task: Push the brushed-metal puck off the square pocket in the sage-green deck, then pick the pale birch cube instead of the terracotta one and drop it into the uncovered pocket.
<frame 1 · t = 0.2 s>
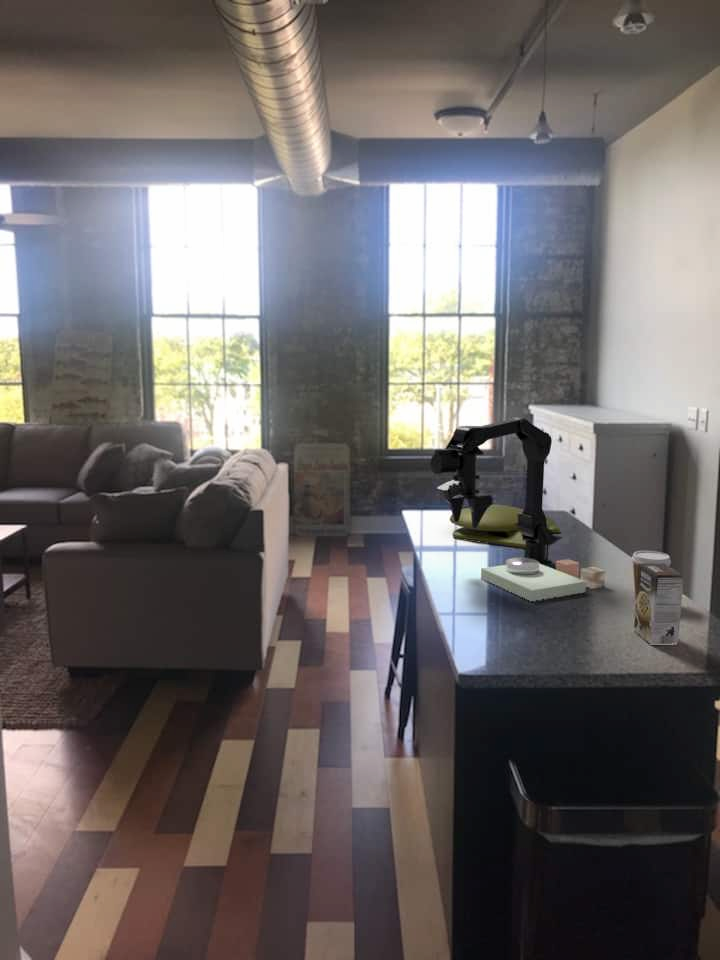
hand: (465, 525, 217), 14 cm above the countertop, tool pointing down, fingers open, 9 cm apart
spaceship: (498, 535, 266), on the countertop
birch cube: (592, 585, 207), on the countertop
pocket deck: (531, 585, 207), on the countertop
terracotta cube: (566, 577, 215), on the countertop
metal puck: (522, 570, 210), point 3 cm above the countertop, touching pocket deck
disposable coffee cup: (648, 601, 195), on the countertop
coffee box: (655, 639, 169), on the countertop
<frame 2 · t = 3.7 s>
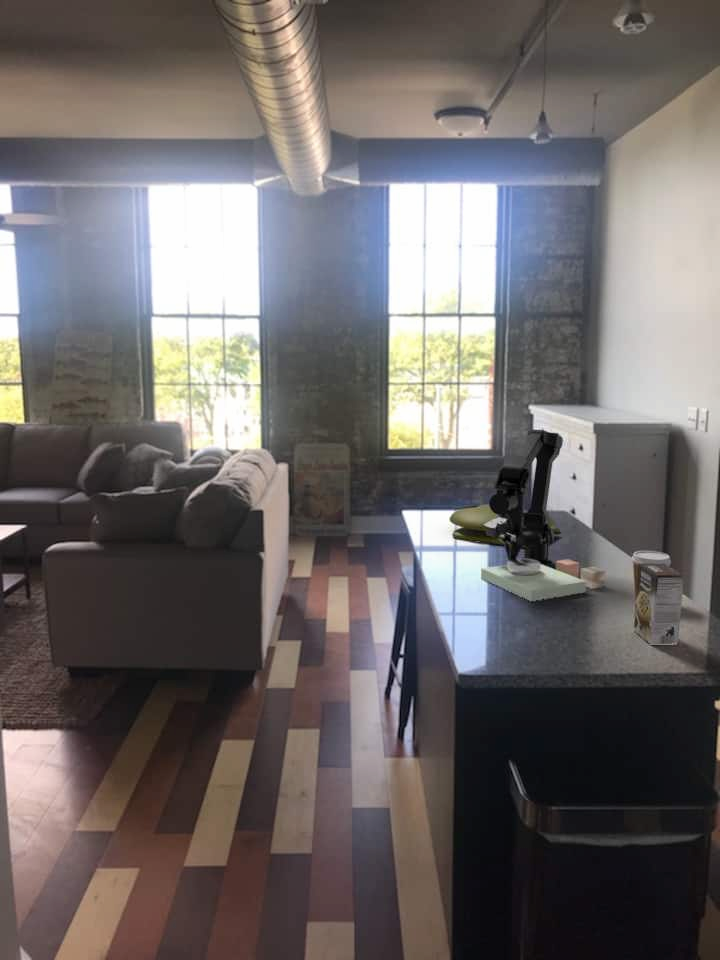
hand: (511, 562, 214), 4 cm above the countertop, tool pointing down, fingers closed
metal puck: (523, 571, 210), point 3 cm above the countertop, touching gripper
everything else where it was.
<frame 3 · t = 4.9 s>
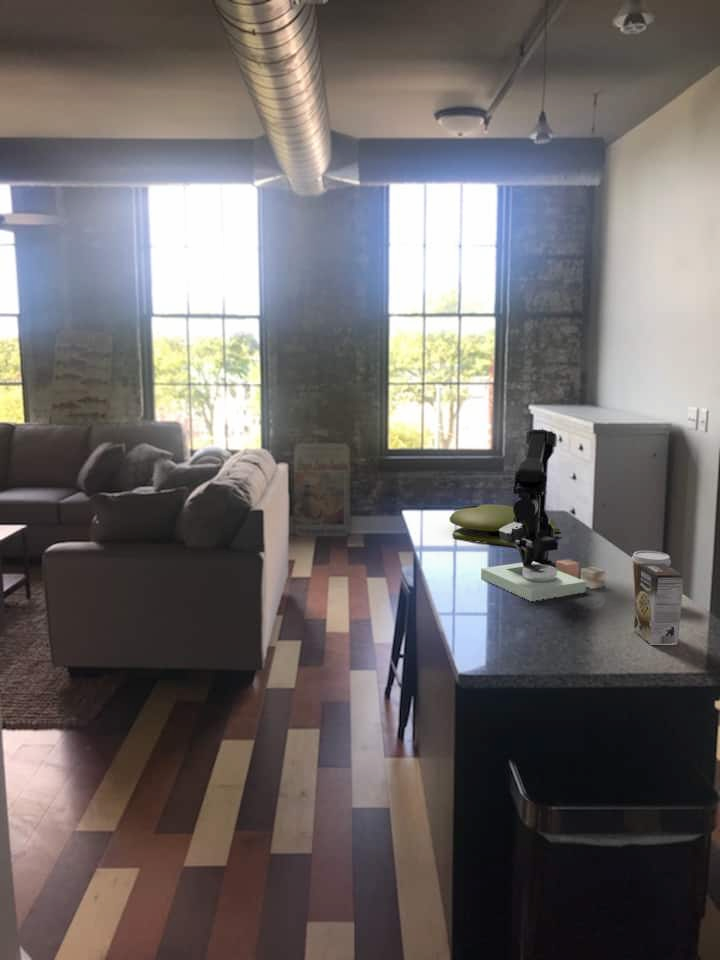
hand: (526, 568, 208), 4 cm above the countertop, tool pointing down, fingers closed
metal puck: (539, 577, 204), point 3 cm above the countertop, touching gripper
everything else where it was.
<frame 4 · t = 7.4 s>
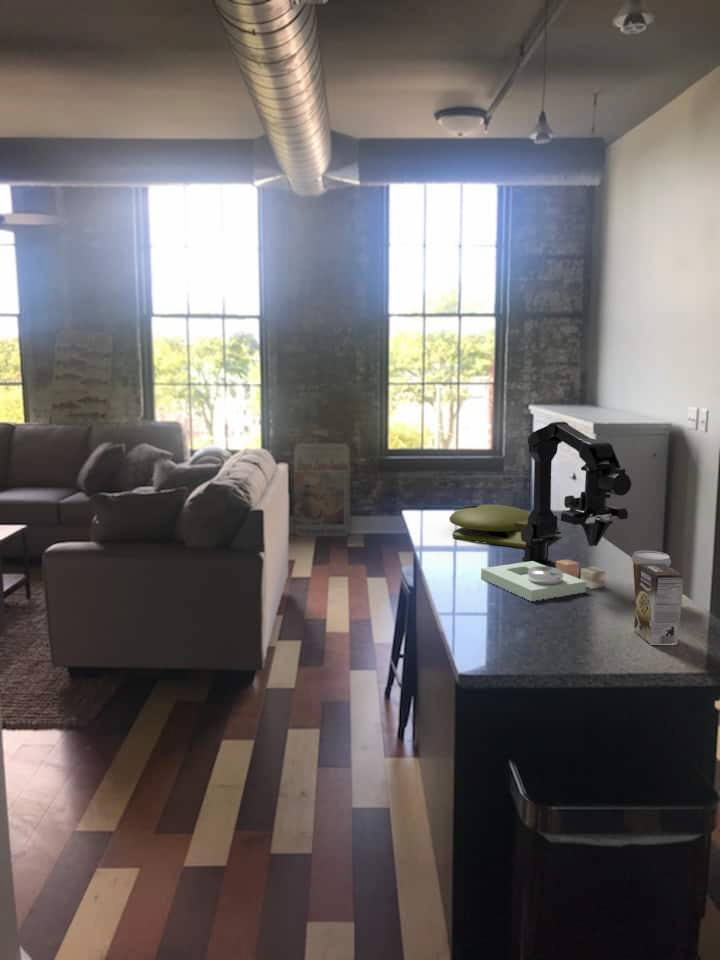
hand: (592, 545, 205), 11 cm above the countertop, tool pointing down, fingers closed
metal puck: (545, 580, 201), point 3 cm above the countertop, touching pocket deck
everything else where it was.
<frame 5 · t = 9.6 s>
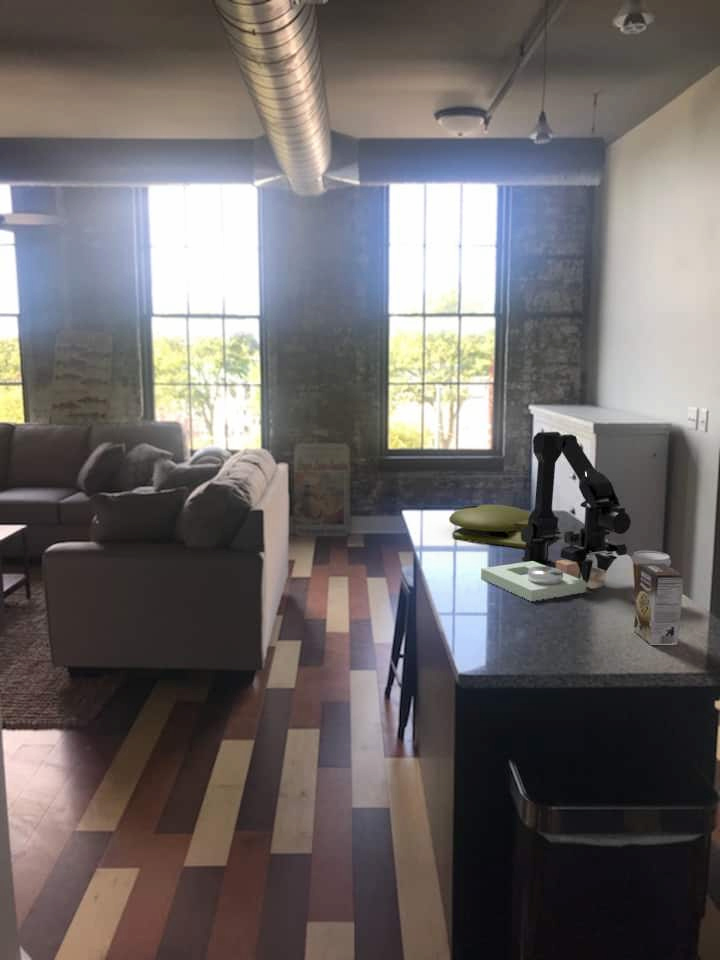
hand: (592, 581, 207), 1 cm above the countertop, tool pointing down, fingers closed on birch cube, 4 cm apart
birch cube: (592, 585, 207), on the countertop, touching gripper
everything else where it was.
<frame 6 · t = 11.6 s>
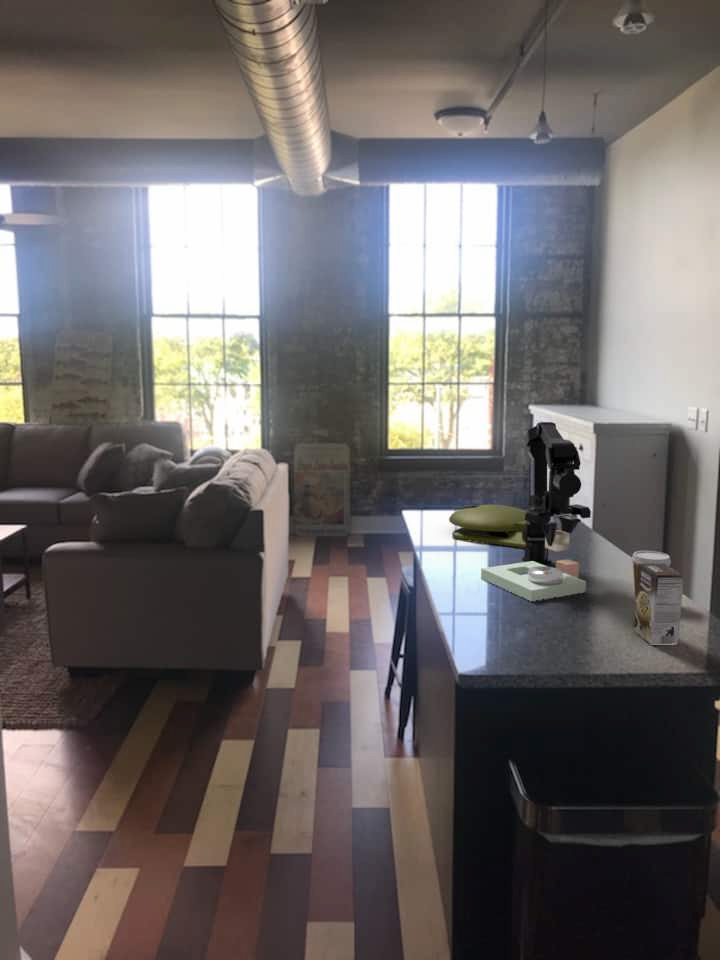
hand: (556, 544, 207), 11 cm above the countertop, tool pointing down, fingers closed on birch cube, 4 cm apart
birch cube: (556, 548, 207), point 10 cm above the countertop, touching gripper
everything else where it was.
when the fingers open (5 cm above the countertop, at t = 13.5 s): birch cube drops 5 cm, resting in pocket deck.
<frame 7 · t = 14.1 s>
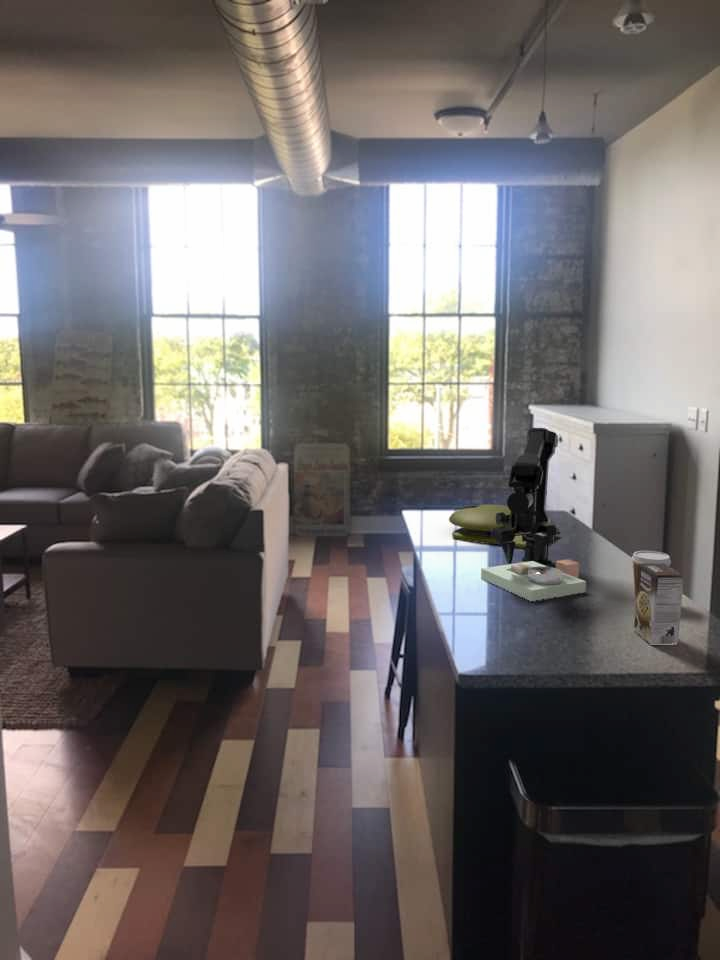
hand: (522, 561, 210), 5 cm above the countertop, tool pointing down, fingers open, 9 cm apart
birch cube: (522, 581, 211), resting in pocket deck
everything else where it was.
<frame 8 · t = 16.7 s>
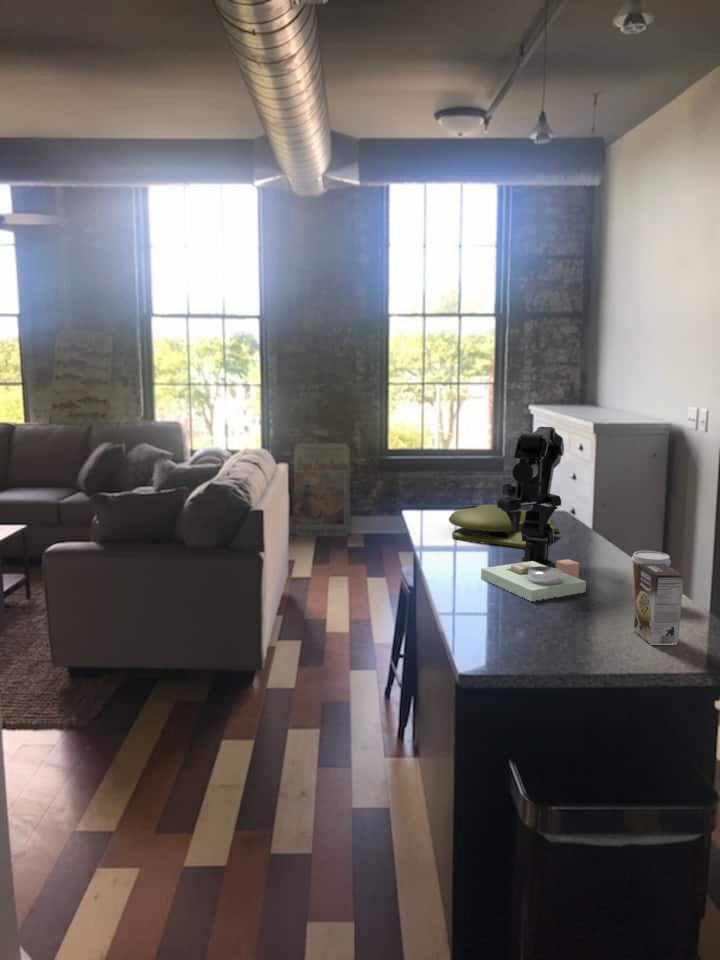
hand: (528, 531, 218), 12 cm above the countertop, tool pointing down, fingers open, 9 cm apart
nothing on the countertop moved.
at the end: birch cube 0.0 cm from the target spot on the pocket deck, point 0.0 cm above the pocket deck's base; metal puck inside the target area on the pocket deck (0.9 cm from its centre), point 3.0 cm above the pocket deck's base; terracotta cube moved 0.1 cm from its start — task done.
